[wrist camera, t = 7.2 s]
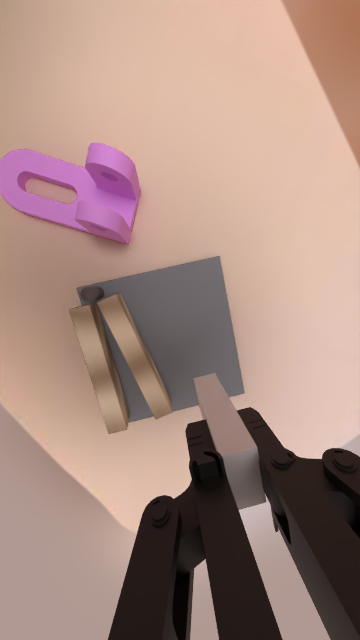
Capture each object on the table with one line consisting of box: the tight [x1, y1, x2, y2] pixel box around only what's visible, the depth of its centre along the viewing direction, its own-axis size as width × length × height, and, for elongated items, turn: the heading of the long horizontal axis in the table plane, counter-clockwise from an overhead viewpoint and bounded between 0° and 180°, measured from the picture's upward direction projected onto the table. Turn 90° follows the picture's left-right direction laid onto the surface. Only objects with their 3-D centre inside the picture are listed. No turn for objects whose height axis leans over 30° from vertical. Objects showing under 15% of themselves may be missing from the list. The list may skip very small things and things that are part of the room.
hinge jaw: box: [97, 293, 172, 419], centre depth 24 cm, size 14×2×2 cm, turn 24°
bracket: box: [0, 143, 141, 244], centre depth 19 cm, size 13×6×7 cm, turn 75°
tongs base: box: [69, 287, 130, 434], centre depth 24 cm, size 16×3×3 cm, turn 13°
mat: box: [77, 256, 244, 423], centre depth 26 cm, size 17×16×1 cm
